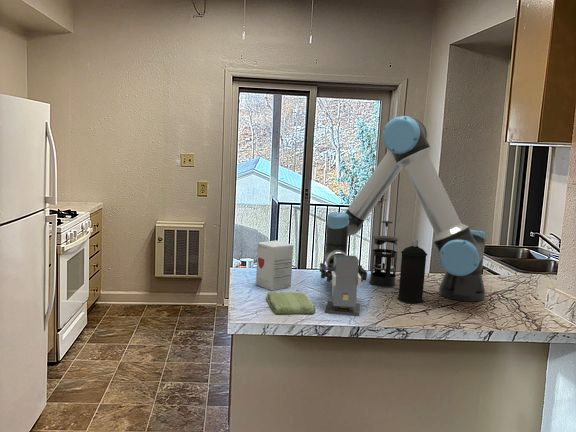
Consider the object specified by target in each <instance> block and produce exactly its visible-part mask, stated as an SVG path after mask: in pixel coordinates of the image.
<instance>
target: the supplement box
mask: <svg viewBox="0 0 576 432" xmlns="http://www.w3.org/2000/svg"><path fill="white" fill-rule="evenodd" d="M256 253H257V255H256V271H255V272H256V274H255V275H256V276H255V285H256V286H259V287H260V288H261V287H262V288H264V289H267V290H270V291H272V292H274V291H277V290H283V289H287V288H291V287H292V271H293V258H294V244H292V243H288V242H283V241H280V240H269V241H260V242H257V252H256Z"/></svg>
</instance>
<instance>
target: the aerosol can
mask: <svg viewBox="0 0 576 432" xmlns="http://www.w3.org/2000/svg"><path fill="white" fill-rule="evenodd" d="M400 253H401V260H400V273H399V274H400V275H399V285H398V297H397V300H398V301H399V302H401V303H405V304H412V305H413V304H414V305H417V304H418V305H419V304H422V303H423V302H424V299H423V297H424V286H425V275H426V264H427V263H426V262H427V256H428V253H427V252H426V251H425V249H423V247H422V248H421V247H420V246H419V240H418V239H412V240H411V245H410V246H407V247H405V248H404V249H403V250H401V251H400Z"/></svg>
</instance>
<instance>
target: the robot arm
mask: <svg viewBox="0 0 576 432" xmlns="http://www.w3.org/2000/svg"><path fill="white" fill-rule="evenodd" d="M427 139H428V132H427V128H426V126H425V125H424V123H423V122H421V121H420V120H419V119H416V118H412V117H410V116H408V115H401V116H396V117H394V118H391V120H389V121H388V122H387V124H385V126H384V129H383V131H382V142H383V144H384V146H385V147H386V150H387V152H386V154H385V155H384V156H383V158H382V160H381V161H380V162H379V164H378V165H377V167H376V168H375V170H373V172H372V174H371V175H370V176H369V178H368V180H367V181H366V182H365V183H364V185H363V187H362V188H360V191H359V192H358V194H357V195H356V197H354V199H353V201H352V202H351V203H350V204H349V206H348V208H347V209H346V211H345V212H338V211H337V212H336V211H335V212H333V211H332V212H329V213H328V214H327V218H326V235H325V248H324V252H323V259H324V261H325V263H323V262H320V264H319V272H320V279H325V278H326V282H328V283H329V282H331V284H333V286H336V275H335V273H334V271H333V266H334V255H348V254H347V253H348V240H349V239H348V238H349V237H351V236H353V235H356V234H358V232H360V231H361V229H362V227H363V223H364V222H365V221H366V219H367V218H368V216H369V215H370V214H371V212H372V211H373V210H374V208H375V207H376V206H377V204H378V203H379V201H380V200H381V199H382V197H383V196H384V195H385V193H386V192H387V191H388V189H389V188H390V187H391V185H392V184H393V182H394V181H395V179H396V177H398V175H399V174H400V172H401V171H402V169H403V168H404V170H405V172H406V175H407V177H408V178H409V182H410V183H411V186H412V187H413V189H414V191H415V194H416V196H417V198H418V200H419V203H420V204H421V206H422V208H423V210H424V212H425V213H424V214H426V217H427V219H428V221H429V223H430V225H431V228H432V229H433V231H434V233H435V235H434V238H433V243H434V245H435V247H436V249H437V251H438V257H439V258H438V259H439V264H440V265H441V267H442V268H443V269H444V270H445V273H444V275H443V278H442V279H441V282H440V285H439V287H438V294H439V295H441V296H442V297H445V298H448V299H451V300H456V301H463V302H481V301H483V300H485V298H486V289H485V285H484V280H483V277H482V275H483V265H484V255H485V246H486V241H487V239H486V233H485V231H483V230H474V229H470V227H469V226H468V225H467V224H464V223H462V222H461V220H460V218H459V215H458V214H457V212H456V209H455V207H454V205H453V203H452V201H451V199H450V196H449V194H448V193H447V191H446V189H445V187H444V185H443V182H442V180H441V178H440V176H439V174H438V171H437V170H436V167H435V166H434V164H433V161H432V159H431V157H430V152H431V149H432V148H431V146H430V144H429V141H428V140H427ZM367 279H368V271H366V270H365V269H364V268H363V265H361V264H359V267H358V281H357V288H358V287H361V286H362V282H363V281H367Z"/></svg>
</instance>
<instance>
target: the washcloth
mask: <svg viewBox="0 0 576 432" xmlns="http://www.w3.org/2000/svg"><path fill="white" fill-rule="evenodd" d="M265 300H266V302H267V303H268V305H269V306H270V308H271V310H272V311H273V312H274V314H276V315H292V314H295V315H296V314H297V315H299V314H300V315H314V314H315V312H316V308H315V305H314V304H313V303H312V302H311V301H310V299H309V298H308V296H307V294H305V293H303V292H294V291H293V292H292V291H280V292H276V291H272V290H270V291H268V292H267V296H266V297H265Z"/></svg>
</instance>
